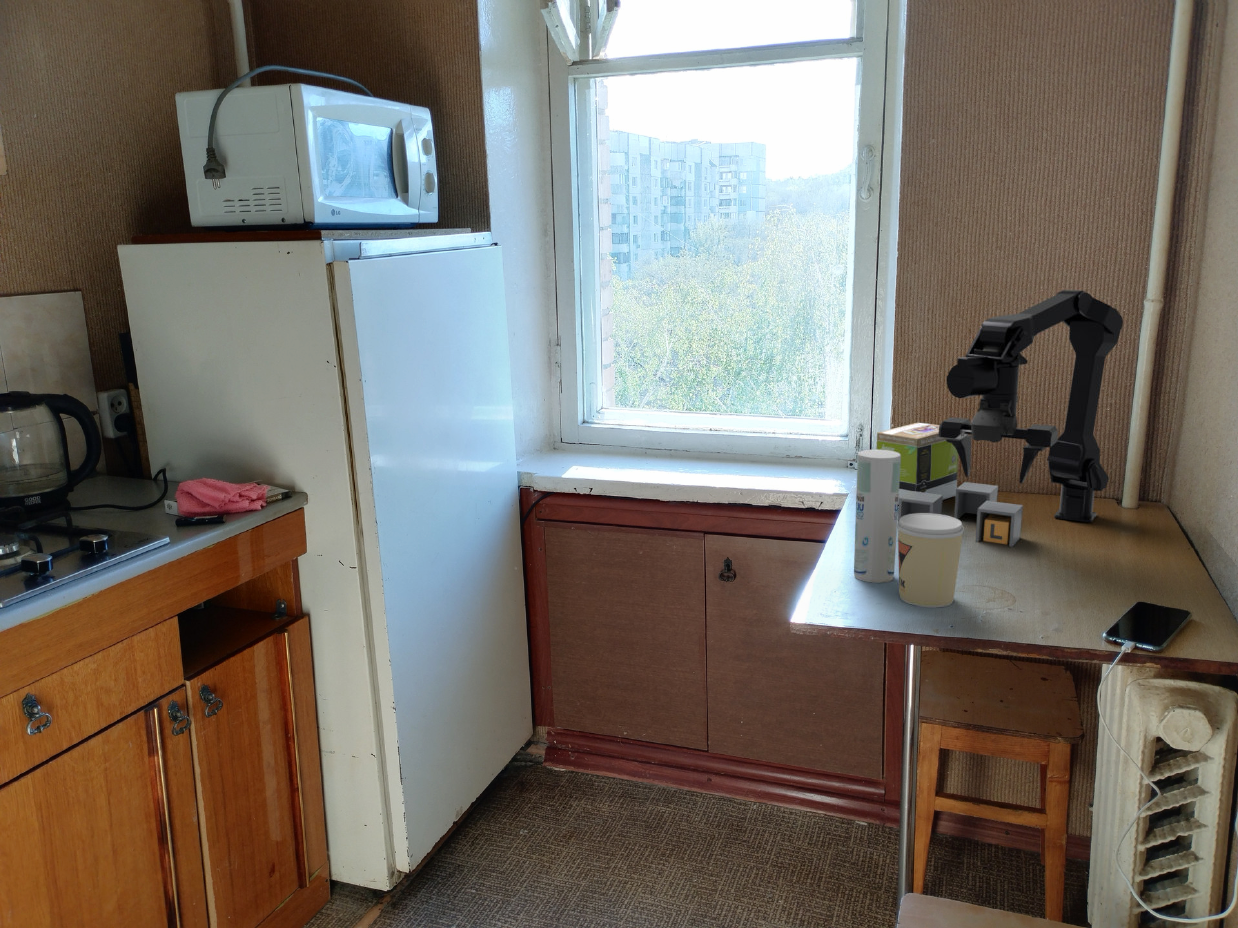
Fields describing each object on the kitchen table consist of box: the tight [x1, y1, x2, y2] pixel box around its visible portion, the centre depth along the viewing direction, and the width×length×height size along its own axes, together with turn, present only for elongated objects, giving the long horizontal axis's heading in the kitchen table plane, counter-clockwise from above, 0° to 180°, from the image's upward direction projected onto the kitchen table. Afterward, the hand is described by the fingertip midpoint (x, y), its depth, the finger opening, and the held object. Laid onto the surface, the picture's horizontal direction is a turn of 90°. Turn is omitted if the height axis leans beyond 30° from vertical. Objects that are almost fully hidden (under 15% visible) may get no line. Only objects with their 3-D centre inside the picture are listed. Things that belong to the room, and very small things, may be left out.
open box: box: [953, 481, 999, 520], centre depth 185 cm, size 6×6×6 cm
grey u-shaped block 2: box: [897, 491, 944, 530], centre depth 179 cm, size 6×6×6 cm
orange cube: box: [982, 514, 1011, 545], centre depth 171 cm, size 4×4×4 cm
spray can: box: [853, 449, 901, 584], centre depth 152 cm, size 6×6×20 cm
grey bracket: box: [974, 501, 1024, 548], centre depth 171 cm, size 6×6×6 cm
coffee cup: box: [897, 513, 965, 609], centre depth 143 cm, size 9×9×12 cm
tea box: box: [876, 422, 959, 505], centre depth 198 cm, size 15×10×15 cm, turn 130°
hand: (994, 479), depth 170 cm, fingers open, 9 cm apart
